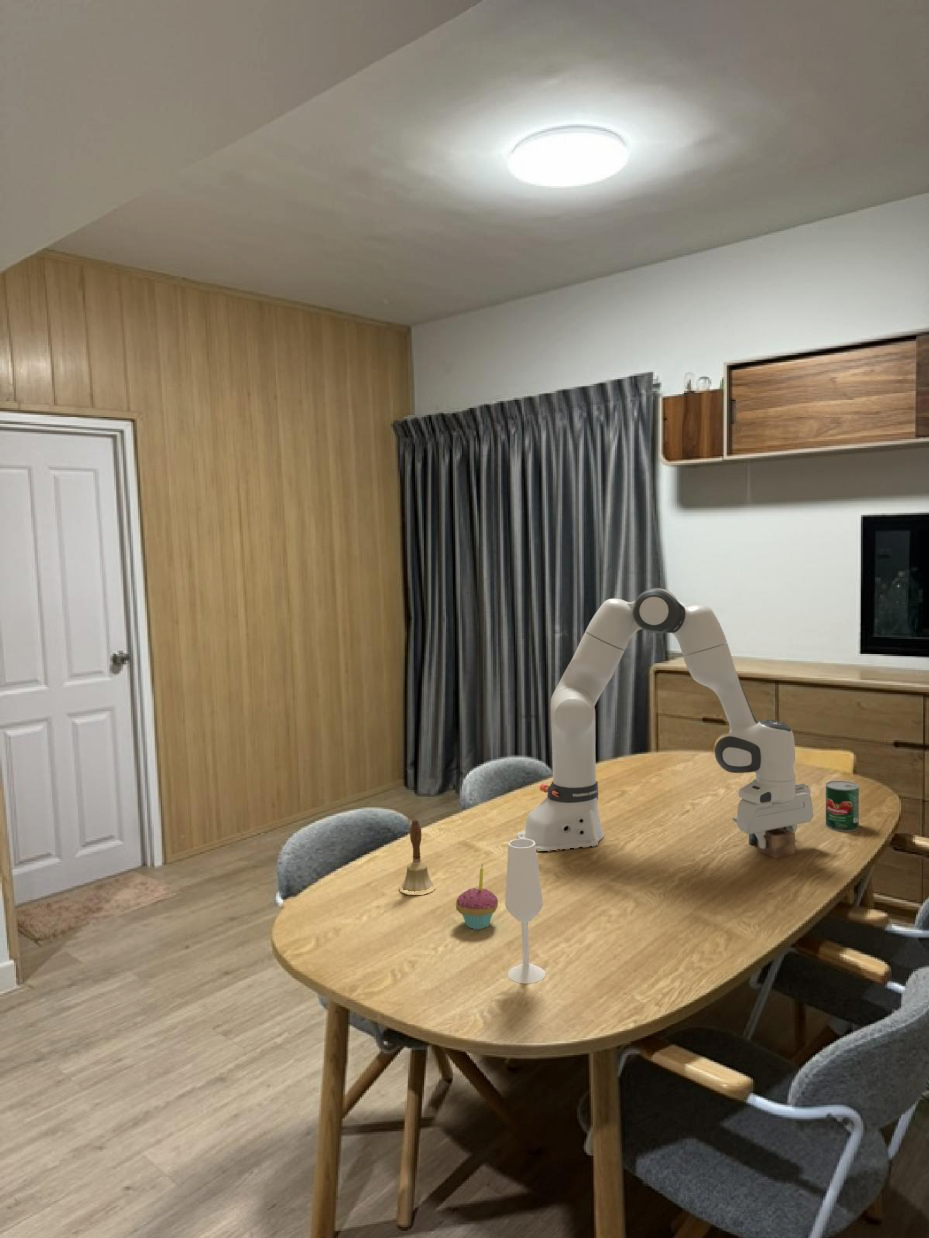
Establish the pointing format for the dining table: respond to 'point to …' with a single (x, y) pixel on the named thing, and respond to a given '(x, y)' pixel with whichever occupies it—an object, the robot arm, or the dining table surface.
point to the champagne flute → (523, 901)
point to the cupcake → (477, 905)
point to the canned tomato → (842, 806)
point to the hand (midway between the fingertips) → (776, 844)
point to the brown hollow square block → (779, 843)
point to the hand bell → (416, 864)
